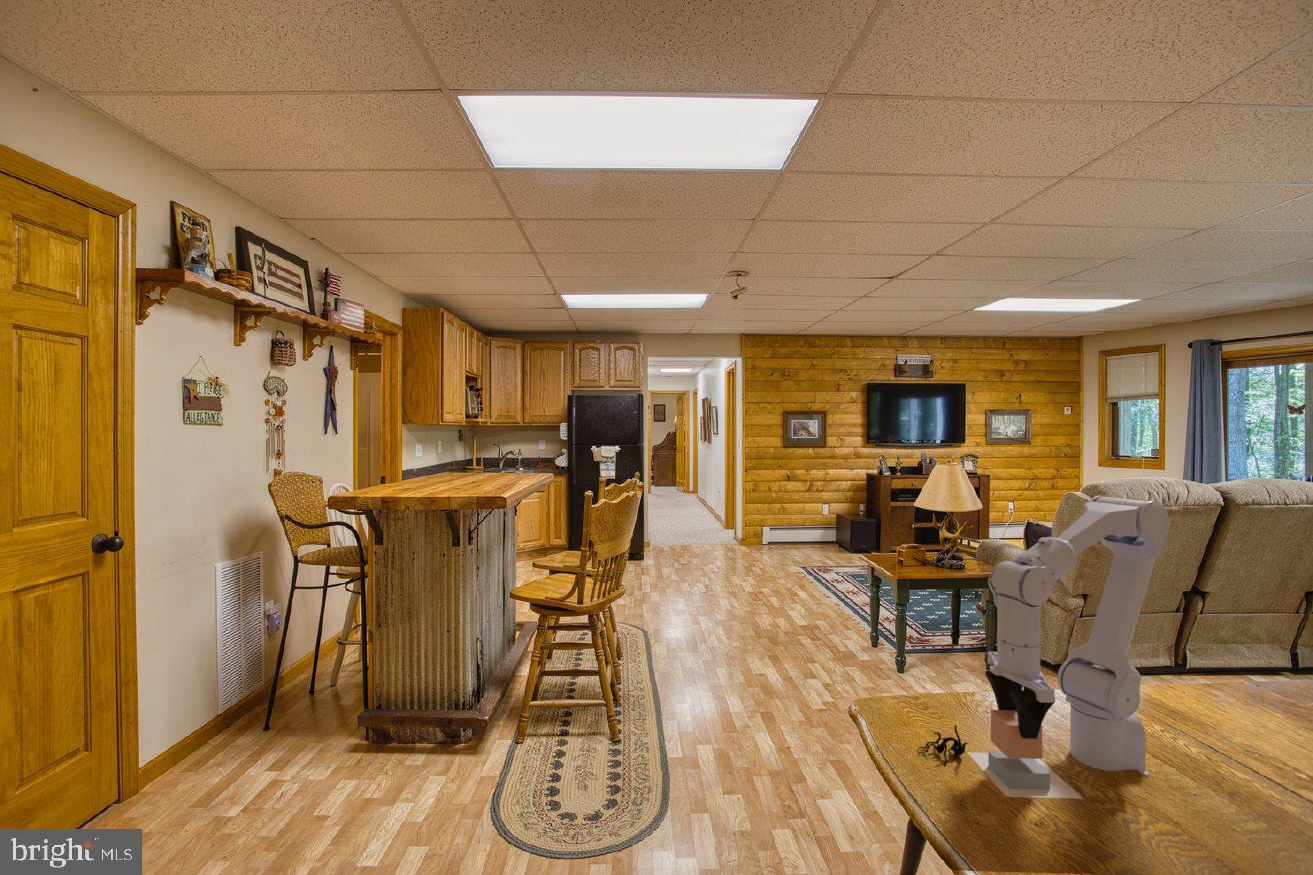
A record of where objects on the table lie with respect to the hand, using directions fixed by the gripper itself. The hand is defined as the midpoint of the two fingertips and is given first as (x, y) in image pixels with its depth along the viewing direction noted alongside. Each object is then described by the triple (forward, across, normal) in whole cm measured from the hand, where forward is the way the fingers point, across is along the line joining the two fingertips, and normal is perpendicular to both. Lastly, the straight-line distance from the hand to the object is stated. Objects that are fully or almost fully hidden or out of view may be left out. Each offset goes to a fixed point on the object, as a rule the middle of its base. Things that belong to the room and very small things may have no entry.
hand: (1018, 728), depth 91 cm
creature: (+9, -6, -9) cm, 14 cm away
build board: (+8, -1, +1) cm, 9 cm away
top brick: (+3, 0, 0) cm, 3 cm away
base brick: (+8, 0, 0) cm, 8 cm away
